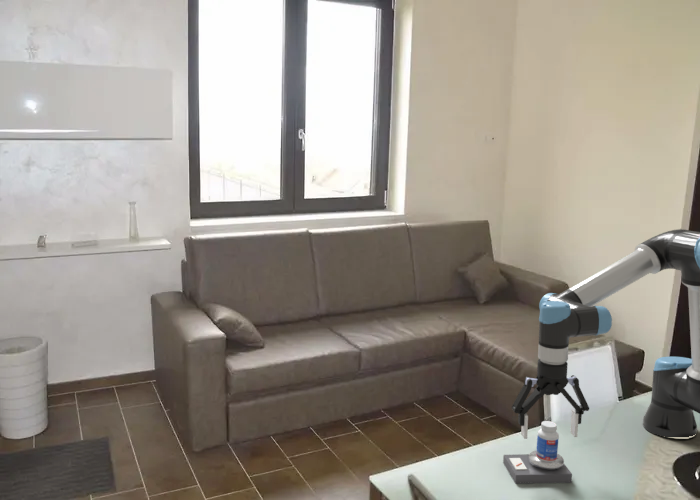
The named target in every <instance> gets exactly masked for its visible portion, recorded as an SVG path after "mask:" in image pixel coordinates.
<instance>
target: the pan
mask: <svg viewBox="0 0 700 500" xmlns="http://www.w3.org/2000/svg"><path fill="white" fill-rule="evenodd" d="M529 461H530V463H531V464H533V465H534V466H536V467H538V468H542V469H547V470H556V469H560V468H562V467H563V465H564V464H565V463H564V462H565V460H564V457H563V456H561V455H560V454H558V453H557V459H556V461H554V462H544V461H541V460H539V459H538V458H537V457H536V450H533V451H531V452H529Z"/></svg>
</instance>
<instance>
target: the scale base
mask: <svg viewBox="0 0 700 500" xmlns="http://www.w3.org/2000/svg"><path fill="white" fill-rule="evenodd" d="M529 454H530V453H529ZM529 454H521V453H519V454H503V460H502V463H503V465H504V468H506V470H507V471H508V473H509V475H510V477H511V478H512V480H513V482H514V484H556V483H557V484H560V483H562V484H564V483H567V484H569V483H572V482H573V481H572V480H573V479H572V478H573V473H572V472H571V470H570V469H569V468H568V467H567V465H566V464H565V463H564V465H563V467H562V468H560V469H556V470H547V469H542V468H538V467H536V466H534V465H533V464H531V463H530V461H529Z"/></svg>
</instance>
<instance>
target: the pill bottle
mask: <svg viewBox="0 0 700 500" xmlns="http://www.w3.org/2000/svg"><path fill="white" fill-rule="evenodd" d="M557 428H558V425H557V423H555V422H554V421H550V420H543V421H541V424H540V429H538V431H537V439H536V449H535V451H536V457H537V458H538V459H539V460H541V461H544V462H554V461H556V459H557V454H558V448H559V447H558V446H559V438H560V437H559V432H558V431H557V430H558V429H557Z"/></svg>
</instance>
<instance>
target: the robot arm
mask: <svg viewBox="0 0 700 500" xmlns="http://www.w3.org/2000/svg"><path fill="white" fill-rule="evenodd" d="M668 269H669V270H671V269H672V270H677V271H679V272H680V273H681V274H680V275H681V276H680V279H681V283H682V285H684V286H685V287H687V292H688V293H687V294H688V295H687V296H688V308H689V309H688V313H689V330H690V331H689V335H690V336H689V337H690V348H691V349H690V351H691V352H690V353H691V355H690V356H691V358H689V357H685V356H662V357H658V358H657V359H656V360H655V362H654V367H653V369H652V370H653V371H652V375H653V376H652V383H651V386H652V388H651V398H650V399H651V400H650V403H649V406H648V407H647V410H646V412H645V414H644V416H643V419H642V420H643V421H642V426H643V428H644V429H645V430H646V431H648V432H650V433H651V434H653V433H654V434H653V435H655V434H657V435H656V436H658V435H661V436H665V437H689V436H693V435H695V434H696V433H697V434H698V425H697V421H696V417H695V414H694V412H696V413H698V414H699V415H700V231H695V230H694V231H693V230H688V229H683V228H678V229H672V230H667V231H664V232H662V233H659V234H657V235H655V236H653V237H650V238H649V239H647V240H646V239H645V240H644V241H643V242H641V243H639V244H638V245H636V246H635V248H634V251H632V252H631V253H629V254H627V255H625V256H624V257H621V258H620V259H619V260H616V261H615V262H612V264H609V265H607V266H606V267H605V268H603V269H601V270H599V271H597V272H595V273H594V274H592V275H591V276H589V277H587V278H585V279H583V280H581V281H580V282H578V283H576V284H575V285H572V286H571V287H569V288H568V289H566V290H564V291H562V292H560V293H555V292H554V293H553V292H548V293H546V294H545V295H543V296H542V297H541V298H540V301H539V304H538V305H539V306H538V307H539V308H538V309H539V317H538V321H539V322H538V328H539V329H538V344H537V345H538V349H537V350H538V351H537V358H538V359H537V372H536V373H537V375H536V377H535V378H533V377H529V376H525V377H524V383H523V386H522V388H521V389H520V391H519V393H518V395H517V396H516V398H515V400H514V401H513V403H512V406H511V410H512V411H513V412H514V414H518V416H517V417H518V419H517V423H518V424H519V426H520V427H521V431H520V432H521V433H520V434H521V436H522V438H523V439H524V440H528V427H529V426H528V425H529V424H528V423H529V414H528V412H529V411H530V409H531V408H532V407H533V406H534V405H535V404H536V403H537V402H538V400H539V399H540V398H542V397H543V396H545V395H546V396H551V395H554V396H558V395H559V394H562V395H563V397H564V398H565V399H566V400H567V401H568V402H569V404H570V405H571V406H572V407H573V408H574V409H571V416H570V417H571V419H570V420H571V421H570V434H571V435H572V436H573V437H574V438H578V431H579V430H578V427H579V425H581V424H582V415H584V414H585V412H589V411H590V407H589V404H588V402H587V400H586V397H585V396H584V394H583V392H582V390H581V388H580V380H579V378H577V376H576V375H570V377H568V376H567V375H568V366H569V365H568V362H567V361H568V360H569V346H570V345H569V343H570V338H579V337H588V336H598V335H604V334H606V333H608V332H609V331H610V330H611V329H612V325H613V317H612V315H611V312H610V310H609V309H608V308H607V307H605V306H603V305H597V304H598V303H600V302H602V301H604V300H605V299H608V298H609V297H611V296H612V295H614V294H616V293H618V292H619V291H621V290H623V289H624V288H626V287H628V286H630V285H631V284H633V283H636V281H638V280H640V279H643V278H644V277H646V276H647V275H649V274H652V275H655V274H658V273H659V272H661V271H663V270H668ZM568 384H569V385H570V386H571V387H572V389H573V391H574V393H575V394H574V395H576V398H577V399H578V401H579V404H578V403H577V402H576V401H575V400H574V399H573V397H572V396H571V395H570V393H569V392H568V391H567V390H566V389H565V387H567V385H568ZM535 385H536V387H535V388H534V389H533V392H532V393H530V392H531V390H532V388H533V387H534V386H535ZM529 394H530V395H529ZM661 436H660V437H661ZM665 437H664V438H665Z"/></svg>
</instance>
